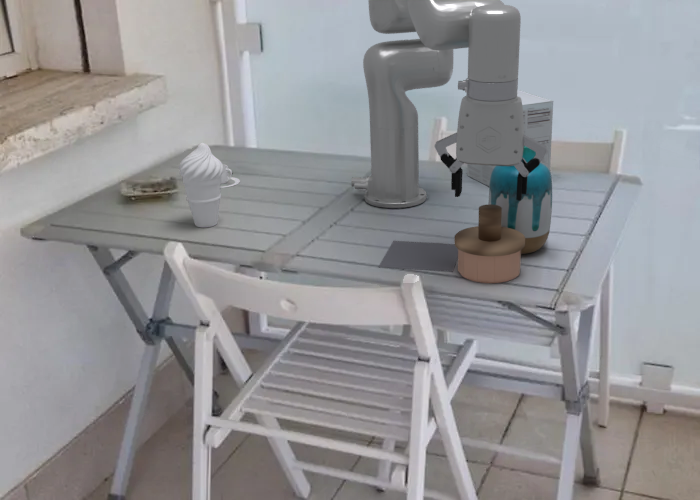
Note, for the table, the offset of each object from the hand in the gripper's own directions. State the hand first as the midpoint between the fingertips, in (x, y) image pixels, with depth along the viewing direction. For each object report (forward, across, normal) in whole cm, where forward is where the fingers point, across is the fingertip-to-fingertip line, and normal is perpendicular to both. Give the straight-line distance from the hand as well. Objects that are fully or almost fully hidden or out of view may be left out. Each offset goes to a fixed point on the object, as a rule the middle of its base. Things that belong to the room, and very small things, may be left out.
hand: (488, 196), depth 149 cm
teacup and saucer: (+16, -64, +44) cm, 79 cm away
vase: (+14, +4, +10) cm, 18 cm away
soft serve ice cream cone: (+15, -55, +15) cm, 59 cm away
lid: (+8, 0, -1) cm, 8 cm away
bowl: (+13, +1, -1) cm, 13 cm away
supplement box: (+15, -1, +52) cm, 54 cm away
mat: (+14, -11, +4) cm, 18 cm away
